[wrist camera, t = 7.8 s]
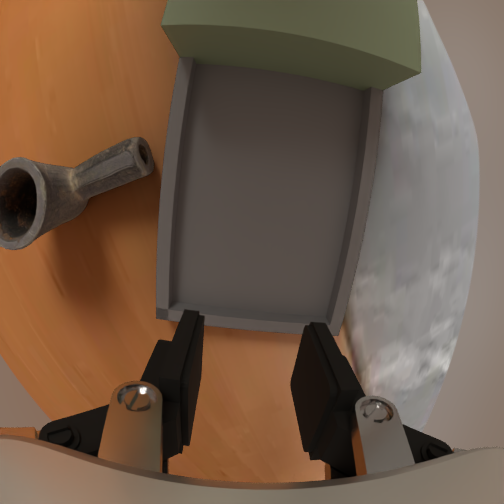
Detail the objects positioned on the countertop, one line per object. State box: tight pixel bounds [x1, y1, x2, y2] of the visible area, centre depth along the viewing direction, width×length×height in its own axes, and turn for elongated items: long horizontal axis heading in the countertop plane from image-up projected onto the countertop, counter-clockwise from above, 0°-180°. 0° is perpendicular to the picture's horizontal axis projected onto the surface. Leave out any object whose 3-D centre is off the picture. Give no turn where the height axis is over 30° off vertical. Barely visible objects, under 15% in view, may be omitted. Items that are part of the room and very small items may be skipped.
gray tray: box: [156, 0, 421, 336], centre depth 18 cm, size 28×15×8 cm, turn 173°
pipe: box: [0, 137, 154, 250], centre depth 18 cm, size 6×13×8 cm, turn 107°
